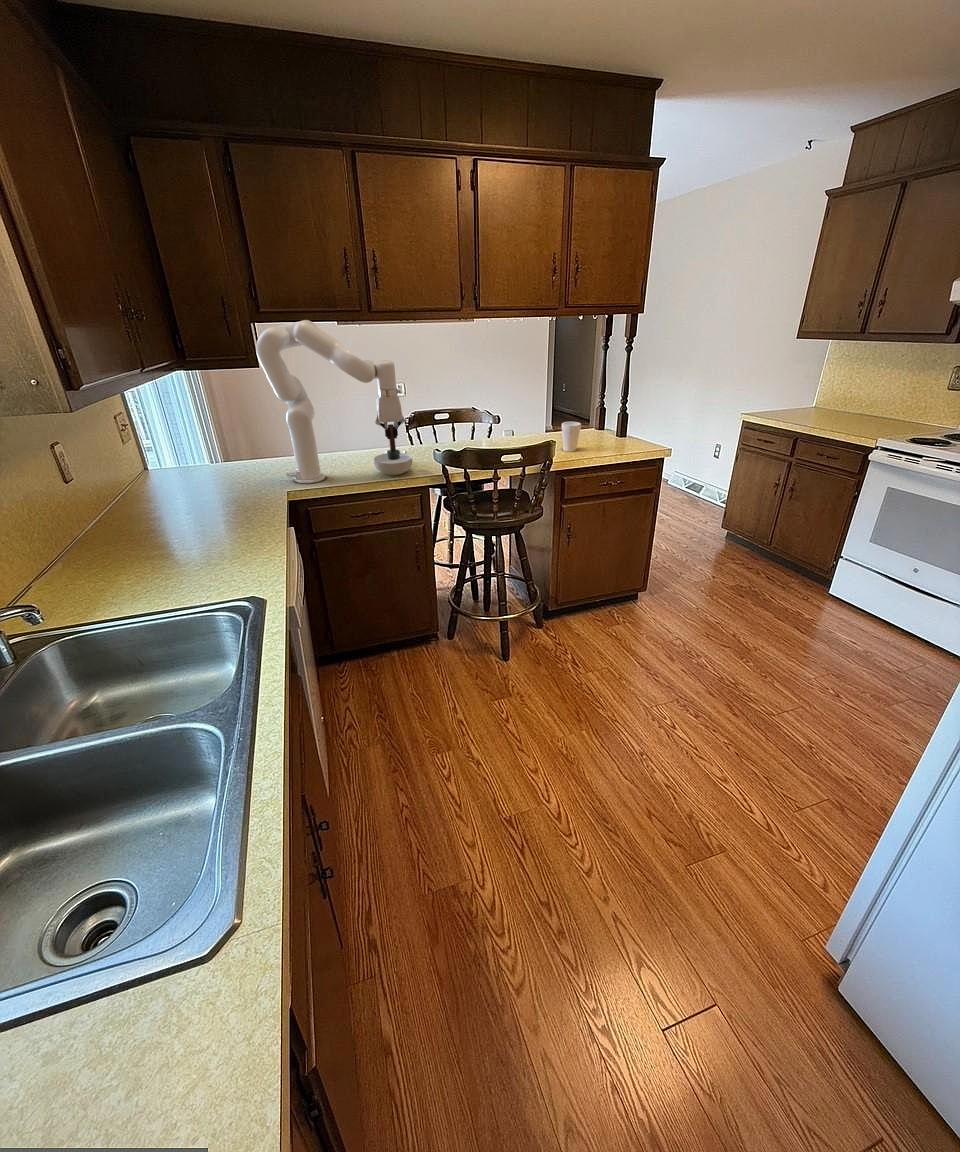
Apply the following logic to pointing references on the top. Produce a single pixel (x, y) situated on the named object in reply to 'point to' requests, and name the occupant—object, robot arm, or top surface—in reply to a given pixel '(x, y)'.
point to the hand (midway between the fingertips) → (391, 437)
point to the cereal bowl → (393, 464)
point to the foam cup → (570, 435)
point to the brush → (392, 445)
